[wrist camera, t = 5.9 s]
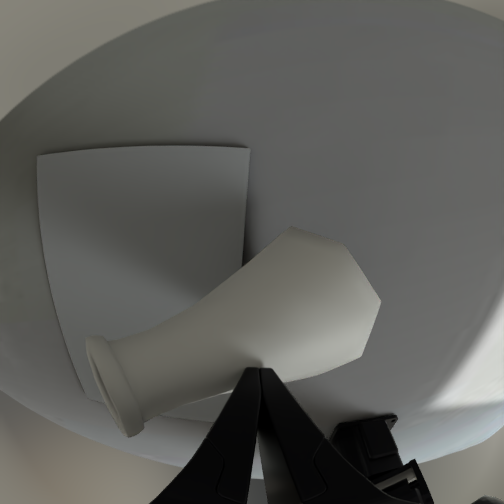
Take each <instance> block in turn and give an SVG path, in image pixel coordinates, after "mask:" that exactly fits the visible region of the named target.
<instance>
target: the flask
mask: <svg viewBox="0 0 504 504" xmlns="http://www.w3.org/2000/svg"><path fill="white" fill-rule="evenodd" d="M380 304H381V300H380V299H379V297H378V296H377V294H376V292H375V291H374V289H373V288H372V286H371V284H370V283H369V281H368V280H367V278H366V277H365V275H364V274H363V272H362V270H361V269H360V267H359V266H358V264H357V263H356V261H355V260H354V258H353V257H352V255H351V254H350V252H349V251H348V250H347V248H346V247H345V245H344V244H342V243H339V242H336V241H333V240H331V239H328V238H325V237H322V236H319V235H316V234H313V233H310V232H307V231H304V230H301V229H298V228H295V227H292V226H291V227H289V228H288V229H287V230H286V231H284V232H283V233H282V234H281V235H279V236H278V237H277V238H276V239H275V240H274V241H272V242H271V243H270V244H269V245H268V246H267V247H265V248H264V249H263V250H262V251H261V252H260V253H259V254H257V255H256V256H255V257H254V258H253V259H252V260H250V261H249V262H248V263H247V264H246V265H245V266H243V267H242V268H241V269H239V270H238V271H237V272H236V273H234V274H233V275H232V276H231V277H229V278H228V279H227V280H225V281H224V282H223V283H222V284H220V285H219V286H218V287H217V288H215V289H214V290H213V291H211V292H210V293H209V294H208V295H206V296H205V297H204V298H203V299H201V300H200V301H199V302H197V303H196V304H195V305H193V306H191V307H190V308H188V309H186V310H184V311H182V312H181V313H179V314H177V315H175V316H173V317H171V318H170V319H168V320H166V321H164V322H162V323H160V324H158V325H157V326H155V327H153V328H151V329H149V330H146V331H143V332H140V333H137V334H134V335H131V336H128V337H125V338H121V339H118V340H111V341H107V340H106V339H105V338H104V337H103V336H100V335H96V336H89V337H86V338H85V339H86V352H87V356H88V360H89V363H90V366H91V369H92V372H93V375H94V378H95V381H96V383H97V386H98V388H99V390H100V392H101V395H102V397H103V399H104V401H105V403H106V405H107V408H108V409H109V411H110V413H111V415H112V417H113V418H114V420H115V422H116V424H117V425H118V427H119V429H120V430H121V432H122V434H123V435H124V436H126V437H132V436H135V435H137V434H139V433H140V432H141V431H143V429H144V422H146V421H148V420H150V419H151V418H153V417H155V416H158V415H160V414H163V413H165V412H168V411H170V410H172V409H175V408H177V407H179V406H182V405H185V404H189V403H193V402H196V401H200V400H203V399H206V398H210V397H213V396H216V395H220V394H226V393H232V391H233V390H234V388H235V386H236V384H237V382H238V381H239V379H240V377H241V375H242V374H243V372H244V370H245V368H246V367H258V368H259V369H260V368H261V367H266V368H272V369H273V370H274V371H275V372H276V374H277V375H278V376H279V378H280V379H281V380H282V382H283V383H284V382H290V381H295V380H299V379H304V378H309V377H312V376H316V375H319V374H322V373H324V372H327V371H329V370H332V369H334V368H336V367H339V366H341V365H343V364H346V363H348V362H350V361H352V360H355V359H357V358H359V357H361V355H362V353H363V351H364V348H365V346H366V343H367V340H368V338H369V335H370V332H371V330H372V327H373V324H374V322H375V319H376V316H377V313H378V310H379V307H380Z"/></svg>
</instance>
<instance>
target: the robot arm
mask: <svg viewBox="0 0 504 504" xmlns="http://www.w3.org/2000/svg"><path fill="white" fill-rule="evenodd" d="M397 420H398V417H397V415H391V416H386V417H381V418H375V419H369V420H363V421H356V422H348V423H341V424H339V425H337V426H336V428H335V430H334V432H333V434H332V436H331V438H330V439H329V440H328V439H327V438H325V436H324V434H323V433H322V432H321V431H320V429H319V428H318V427H317V426H316V424H315V423H314V422H313V421H312V419H311V418H310V417H309V416H308V414H307V413H306V412H305V411H304V409H303V408H302V407H301V405H300V404H299V403H298V402H297V400H296V399H295V398H294V396H293V395H292V394H291V392H290V391H289V390H288V388H287V387H286V386H285V384H284V383H283V382H282V380H281V379H280V378H279V376H278V375H277V374H276V372H275V371H274V370H273V369H272V368H266V367H261V368H260V369H259V368H258V367H246V368H245V370H244V372H243V374H242V375H241V377H240V379H239V381H238V382H237V384H236V386H235V388H234V390H233V391H232V393H231V395H230V397H229V398H228V400H227V402H226V404H225V405H224V407H223V409H222V410H221V412H220V414H219V416H218V417H217V419H216V421H215V422H214V424H213V426H212V427H211V429H210V431H209V432H208V434H207V436H206V438H205V439H204V440H203V442H202V444H201V445H200V447H199V448H198V450H197V451H196V453H195V454H194V456H193V457H192V459H191V460H190V461H189V462H188V463H187V465H186V466H185V467H184V468H183V470H182V471H181V472H180V473H179V474H178V475H177V476H176V477H175V478H174V479H173V480H172V482H171V483H170V484H169V485H168V486H167V487H166V488H165V489H164V490H163V491H162V492H161V493H160V494H159V495H158V496H157V497H156V498H155V499H154V500H153V501H152V502H150V503H149V504H247V498H248V492H249V485H250V479H251V472H252V465H253V458H254V451H255V444H256V437H257V436H258V443H259V450H260V457H261V463H262V470H263V477H264V483H265V489H266V495H267V502H268V504H434V502H433V499H432V497H431V494H430V491H429V489H428V487H427V484H426V482H425V480H424V478H423V475H422V473H421V471H420V469H419V467H418V464H417V462H416V460H415V459H413V460H411V461H409V463H407V464H405V465H403V463H402V461H401V458H400V456H399V453H398V448H397V445H396V443H395V441H394V438H393V436H392V434H391V431H390V430H391V429H392V427H393V426H394V424H395V423H396V421H397ZM413 478H415V479H416V480H414V481H412V482H410V483H408V481H409V480H411V479H413ZM472 504H504V502H503V501H502V500H501V499H498V498H496V497H491V496H486V495H485V496H483V497H481V498H480V499H478V500H476V501H475V502H473V503H472Z"/></svg>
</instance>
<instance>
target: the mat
mask: <svg viewBox="0 0 504 504" xmlns="http://www.w3.org/2000/svg"><path fill="white" fill-rule="evenodd" d="M250 149H251V148H236V147H216V146H132V147H114V148H99V149H88V150H78V151H69V152H60V153H53V154H46V155H39V156H37V194H38V209H39V221H40V230H41V238H42V245H43V252H44V258H45V264H46V269H47V274H48V279H49V284H50V289H51V293H52V297H53V301H54V305H55V309H56V313H57V317H58V320H59V324H60V327H61V330H62V333H63V337H64V340H65V343H66V346H67V349H68V352H69V354H70V357H71V360H72V363H73V365H74V368H75V370H76V373H77V376H78V378H79V380H80V383H81V385H82V388H83V390H84V392H85V394H86V397H87V399H90V400H94V401H97V402H101V403H105V401H104V399H103V397H102V395H101V392H100V390H99V388H98V386H97V383H96V381H95V378H94V375H93V372H92V369H91V366H90V363H89V360H88V356H87V352H86V339H85V338H86V337H89V336H96V335H100V336H103V337H104V338H105V339H106V340H107V341H111V340H118V339H121V338H125V337H128V336H131V335H134V334H137V333H140V332H143V331H146V330H149V329H151V328H153V327H155V326H157V325H158V324H160V323H162V322H164V321H166V320H168V319H170V318H171V317H173V316H175V315H177V314H179V313H181V312H182V311H184V310H186V309H188V308H190V307H191V306H193V305H195V304H196V303H197V302H199V301H200V300H201V299H203V298H204V297H205V296H206V295H208V294H209V293H210V292H211V291H213V290H214V289H215V288H217V287H218V286H219V285H220V284H222V283H223V282H224V281H225V280H227V279H228V278H229V277H231V276H232V275H233V274H234V273H236V272H237V271H238V270H239V269H241V268H242V256H243V242H244V228H245V214H246V201H247V188H248V175H249V162H250ZM230 395H231V393H226V394H220V395H216V396H213V397H210V398H206V399H203V400H200V401H196V402H193V403H189V404H185V405H182V406H179V407H177V408H175V409H172V410H170V411H168V412H165V413H163V414H160V416H166V417H172V418H179V419H187V420H195V421H204V422H215V421H216V419H217V417H218V416H219V414H220V412H221V410H222V409H223V407H224V405H225V404H226V402H227V400H228V398H229V397H230ZM105 404H106V403H105Z"/></svg>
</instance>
